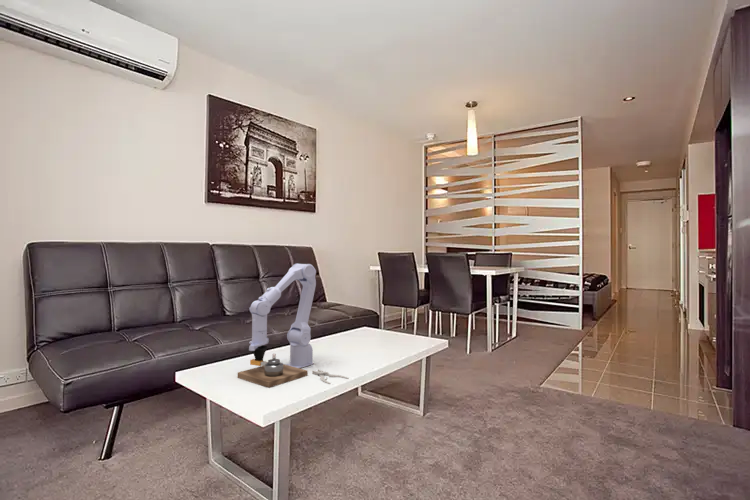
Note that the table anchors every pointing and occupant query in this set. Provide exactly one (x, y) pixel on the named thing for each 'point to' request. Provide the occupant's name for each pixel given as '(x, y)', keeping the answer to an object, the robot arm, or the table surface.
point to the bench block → (269, 381)
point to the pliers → (326, 375)
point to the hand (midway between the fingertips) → (259, 364)
